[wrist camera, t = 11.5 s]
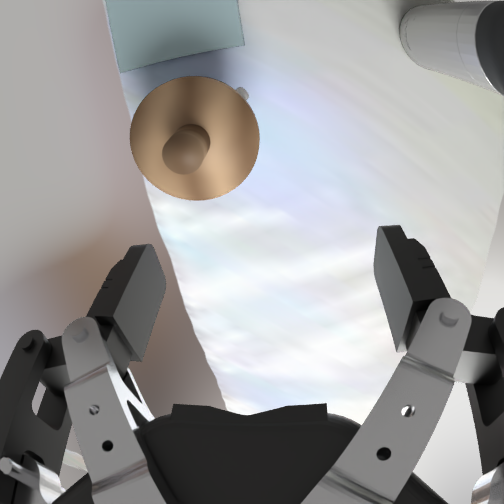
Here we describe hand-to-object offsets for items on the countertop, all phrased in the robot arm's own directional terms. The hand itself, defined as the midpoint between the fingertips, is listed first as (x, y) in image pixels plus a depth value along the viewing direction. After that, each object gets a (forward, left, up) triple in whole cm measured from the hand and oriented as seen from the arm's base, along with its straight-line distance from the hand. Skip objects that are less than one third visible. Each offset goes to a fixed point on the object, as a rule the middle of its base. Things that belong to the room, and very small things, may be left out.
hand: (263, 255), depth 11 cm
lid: (+8, +2, -24) cm, 25 cm away
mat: (+10, -15, -32) cm, 37 cm away
